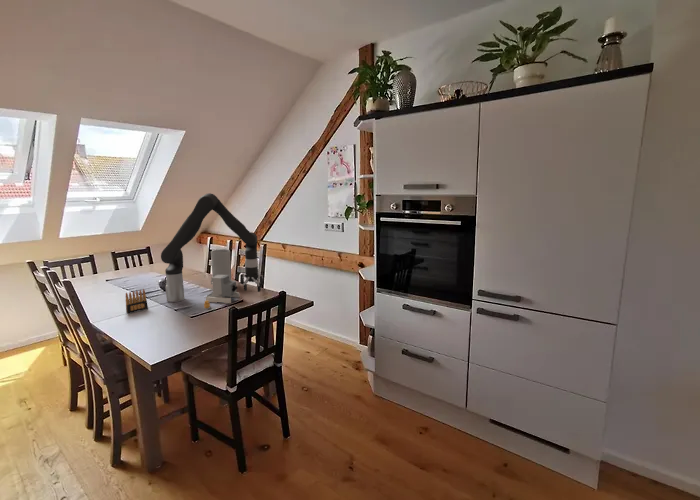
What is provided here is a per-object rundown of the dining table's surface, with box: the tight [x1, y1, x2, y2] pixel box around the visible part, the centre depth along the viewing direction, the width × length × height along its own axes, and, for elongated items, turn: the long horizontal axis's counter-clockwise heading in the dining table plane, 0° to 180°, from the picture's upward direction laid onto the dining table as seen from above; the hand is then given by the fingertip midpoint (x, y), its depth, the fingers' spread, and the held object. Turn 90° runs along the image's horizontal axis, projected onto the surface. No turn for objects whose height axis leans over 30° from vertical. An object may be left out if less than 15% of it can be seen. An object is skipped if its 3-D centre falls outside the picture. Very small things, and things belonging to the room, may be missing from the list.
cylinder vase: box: [210, 248, 233, 281], centre depth 251 cm, size 12×12×25 cm
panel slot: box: [205, 291, 240, 304], centre depth 224 cm, size 16×12×4 cm
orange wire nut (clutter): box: [203, 300, 211, 309], centre depth 210 cm, size 3×3×4 cm
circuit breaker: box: [210, 275, 238, 298], centre depth 222 cm, size 8×14×15 cm, turn 82°
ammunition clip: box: [125, 288, 149, 315], centre depth 203 cm, size 11×2×12 cm, turn 138°
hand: (252, 291), depth 220 cm, fingers open, 8 cm apart
